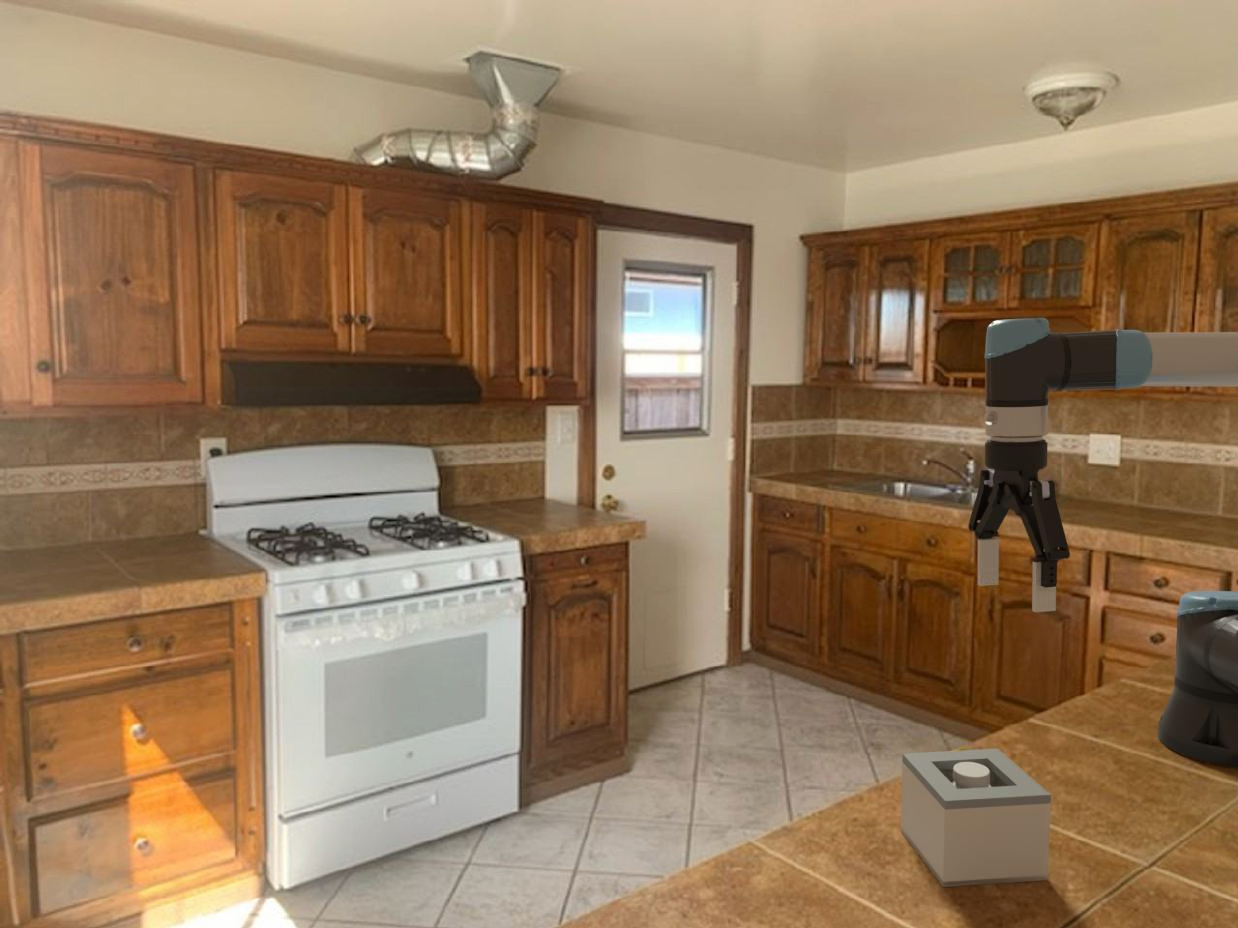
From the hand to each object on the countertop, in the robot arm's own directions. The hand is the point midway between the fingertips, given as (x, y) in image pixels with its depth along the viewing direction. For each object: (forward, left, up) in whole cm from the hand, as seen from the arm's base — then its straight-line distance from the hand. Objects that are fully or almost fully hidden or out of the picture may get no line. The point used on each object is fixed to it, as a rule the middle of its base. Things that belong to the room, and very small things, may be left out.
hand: (1014, 597), depth 122 cm
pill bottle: (+13, +17, -25) cm, 33 cm away
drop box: (+13, +17, -26) cm, 34 cm away
